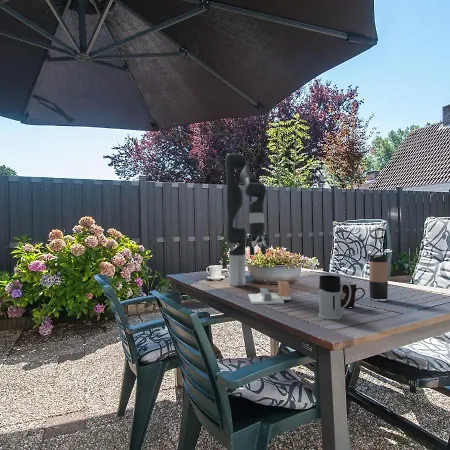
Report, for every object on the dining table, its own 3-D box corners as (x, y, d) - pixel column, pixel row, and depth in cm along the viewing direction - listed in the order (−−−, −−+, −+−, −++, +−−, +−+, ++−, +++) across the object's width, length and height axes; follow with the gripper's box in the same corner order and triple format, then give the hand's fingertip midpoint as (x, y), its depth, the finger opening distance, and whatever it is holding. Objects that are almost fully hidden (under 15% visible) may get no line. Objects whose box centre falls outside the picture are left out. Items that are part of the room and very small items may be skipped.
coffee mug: (330, 305, 144) (330, 281, 144) (346, 303, 147) (346, 280, 147) (349, 311, 133) (349, 286, 133) (366, 309, 136) (366, 285, 136)
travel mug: (386, 298, 155) (385, 255, 155) (389, 302, 148) (389, 256, 148) (368, 297, 157) (368, 255, 157) (370, 301, 150) (370, 256, 150)
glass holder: (329, 312, 133) (329, 274, 132) (359, 321, 120) (359, 279, 120) (313, 315, 128) (312, 276, 128) (342, 325, 116) (341, 281, 116)
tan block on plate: (276, 294, 162) (276, 280, 162) (285, 294, 162) (284, 279, 162) (282, 299, 150) (281, 284, 150) (291, 299, 150) (290, 284, 150)
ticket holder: (248, 296, 163) (248, 287, 163) (277, 295, 164) (276, 287, 164) (252, 304, 147) (252, 294, 147) (284, 303, 148) (284, 294, 148)
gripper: (260, 223, 176) (261, 254, 175) (241, 222, 166) (242, 255, 165) (271, 222, 171) (272, 254, 170) (252, 221, 161) (254, 255, 160)
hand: (258, 254), depth 168 cm, fingers open, 8 cm apart
